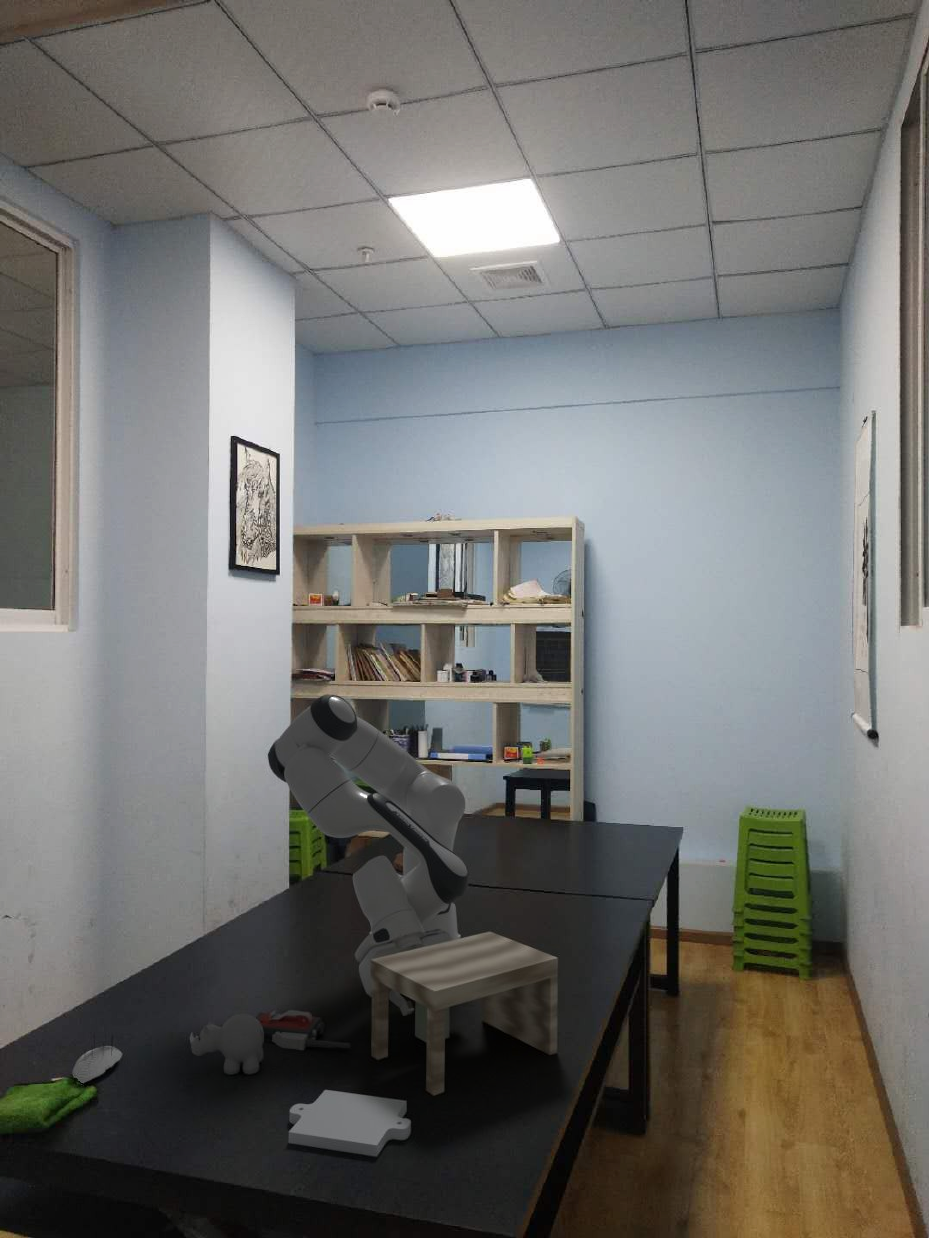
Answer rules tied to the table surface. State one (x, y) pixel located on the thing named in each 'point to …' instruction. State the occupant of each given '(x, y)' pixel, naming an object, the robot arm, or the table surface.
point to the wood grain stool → (469, 992)
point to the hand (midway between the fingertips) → (431, 1007)
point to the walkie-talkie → (295, 1030)
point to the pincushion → (96, 1062)
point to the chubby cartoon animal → (233, 1043)
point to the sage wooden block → (422, 1021)
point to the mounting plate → (349, 1122)
